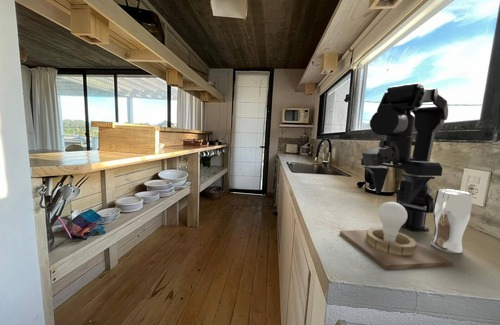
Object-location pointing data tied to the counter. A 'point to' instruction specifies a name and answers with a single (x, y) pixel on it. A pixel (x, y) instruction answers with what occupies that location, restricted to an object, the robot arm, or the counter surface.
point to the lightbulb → (392, 219)
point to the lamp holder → (394, 250)
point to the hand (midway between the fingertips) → (391, 197)
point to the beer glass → (450, 219)
